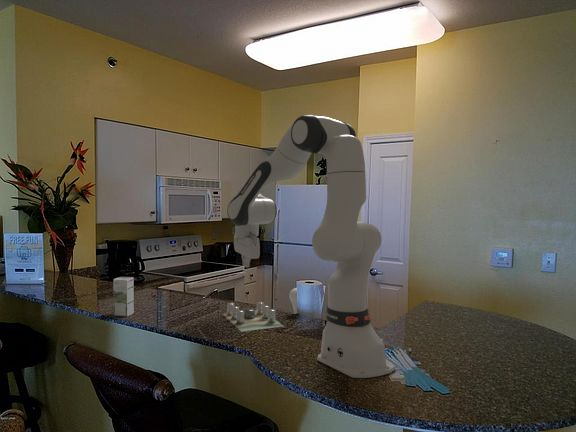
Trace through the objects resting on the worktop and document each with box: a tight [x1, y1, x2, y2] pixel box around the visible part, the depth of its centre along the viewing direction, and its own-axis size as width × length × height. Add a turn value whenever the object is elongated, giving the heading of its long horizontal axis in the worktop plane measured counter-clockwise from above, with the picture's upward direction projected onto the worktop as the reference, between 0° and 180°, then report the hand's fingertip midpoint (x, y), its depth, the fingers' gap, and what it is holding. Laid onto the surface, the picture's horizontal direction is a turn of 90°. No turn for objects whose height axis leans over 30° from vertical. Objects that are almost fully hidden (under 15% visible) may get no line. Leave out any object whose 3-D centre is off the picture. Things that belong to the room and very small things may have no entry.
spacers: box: [226, 301, 277, 325], centre depth 154 cm, size 18×14×4 cm
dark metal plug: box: [243, 307, 256, 319], centre depth 155 cm, size 4×4×3 cm
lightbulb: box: [288, 287, 298, 315], centre depth 161 cm, size 6×6×11 cm
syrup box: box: [112, 276, 135, 317], centre depth 160 cm, size 6×6×14 cm
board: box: [222, 309, 285, 333], centre depth 153 cm, size 24×16×1 cm, turn 24°
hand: (245, 266), depth 158 cm, fingers closed
